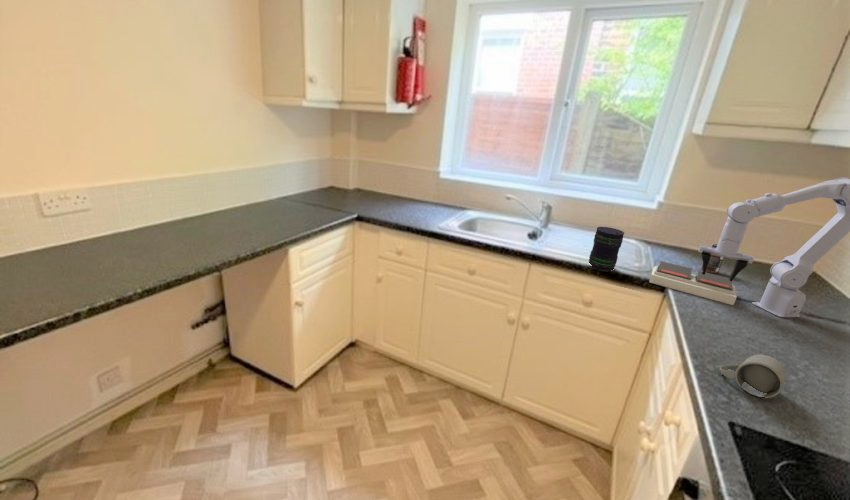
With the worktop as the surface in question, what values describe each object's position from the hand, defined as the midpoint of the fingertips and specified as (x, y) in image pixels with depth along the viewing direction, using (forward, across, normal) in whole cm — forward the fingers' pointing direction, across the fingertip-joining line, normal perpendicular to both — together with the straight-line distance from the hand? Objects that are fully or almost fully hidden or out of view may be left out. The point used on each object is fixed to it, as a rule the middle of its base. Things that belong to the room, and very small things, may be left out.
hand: (716, 277), depth 130 cm
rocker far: (+2, +12, -2) cm, 13 cm away
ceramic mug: (+7, -6, +56) cm, 57 cm away
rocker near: (+2, 0, -2) cm, 3 cm away
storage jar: (+7, +36, 0) cm, 36 cm away
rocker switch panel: (+7, +6, -2) cm, 10 cm away
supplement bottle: (+7, 0, -32) cm, 32 cm away
